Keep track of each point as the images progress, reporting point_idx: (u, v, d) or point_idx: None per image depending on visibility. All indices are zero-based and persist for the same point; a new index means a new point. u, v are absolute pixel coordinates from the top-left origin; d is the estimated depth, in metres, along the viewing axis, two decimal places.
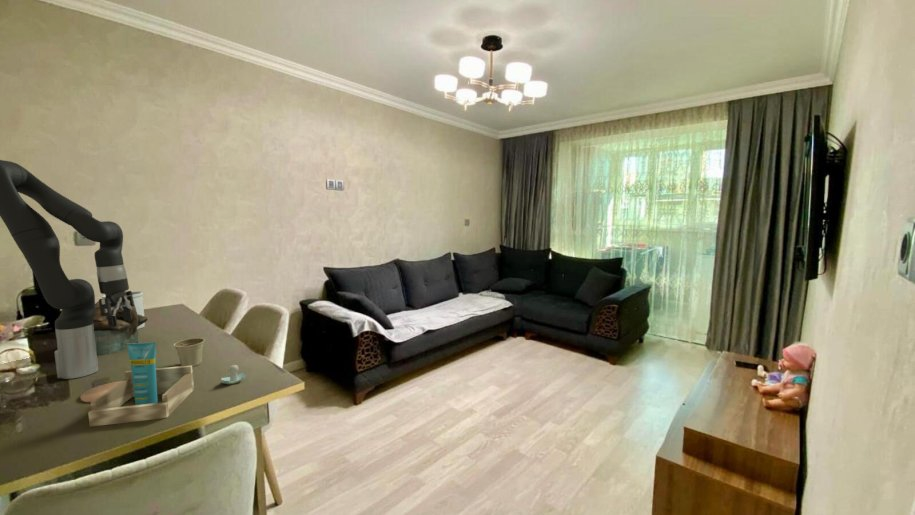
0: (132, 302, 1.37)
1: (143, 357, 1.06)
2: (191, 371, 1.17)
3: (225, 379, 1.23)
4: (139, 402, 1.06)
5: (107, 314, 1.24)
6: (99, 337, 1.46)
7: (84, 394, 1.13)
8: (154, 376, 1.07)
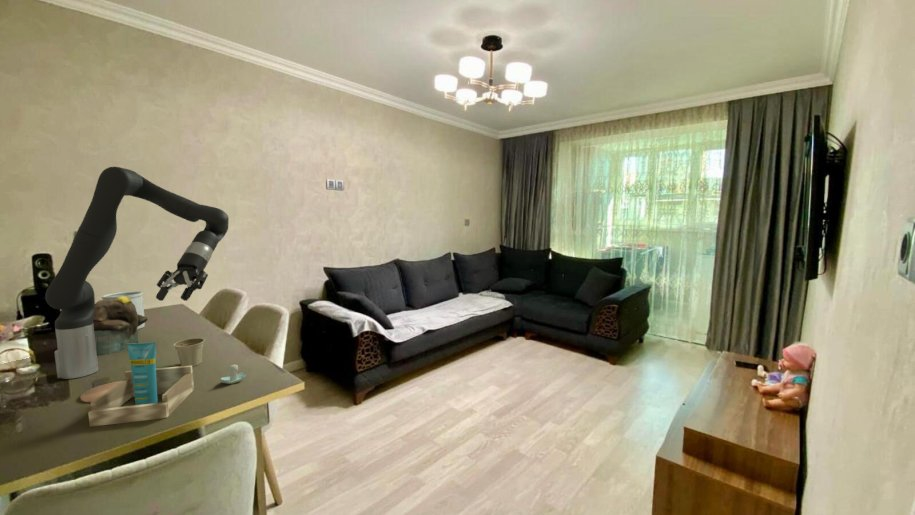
0: None
1: (143, 357, 1.06)
2: (191, 371, 1.17)
3: (225, 379, 1.23)
4: (139, 402, 1.06)
5: (200, 286, 1.19)
6: (99, 337, 1.46)
7: (84, 394, 1.13)
8: (154, 376, 1.07)
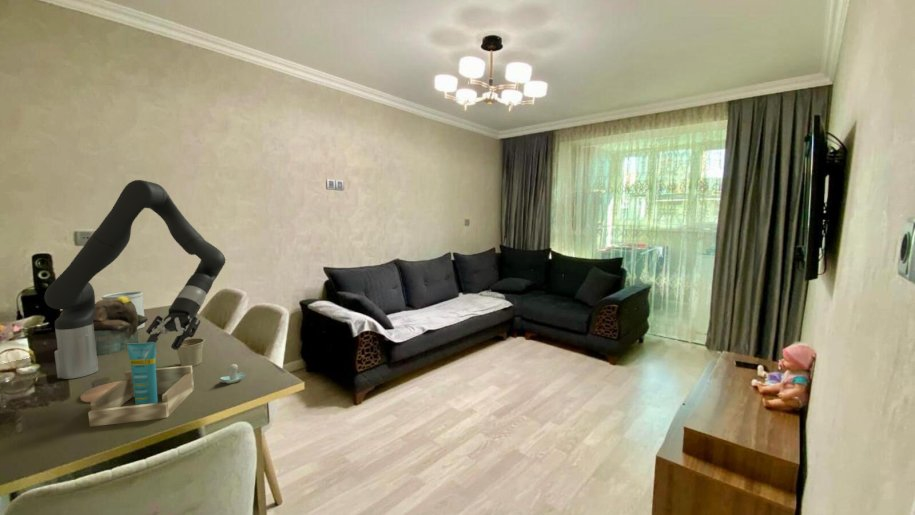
0: None
1: (143, 357, 1.06)
2: (191, 371, 1.17)
3: (224, 378, 1.24)
4: (139, 402, 1.06)
5: (192, 334, 1.15)
6: (99, 337, 1.46)
7: (84, 394, 1.13)
8: (154, 376, 1.07)
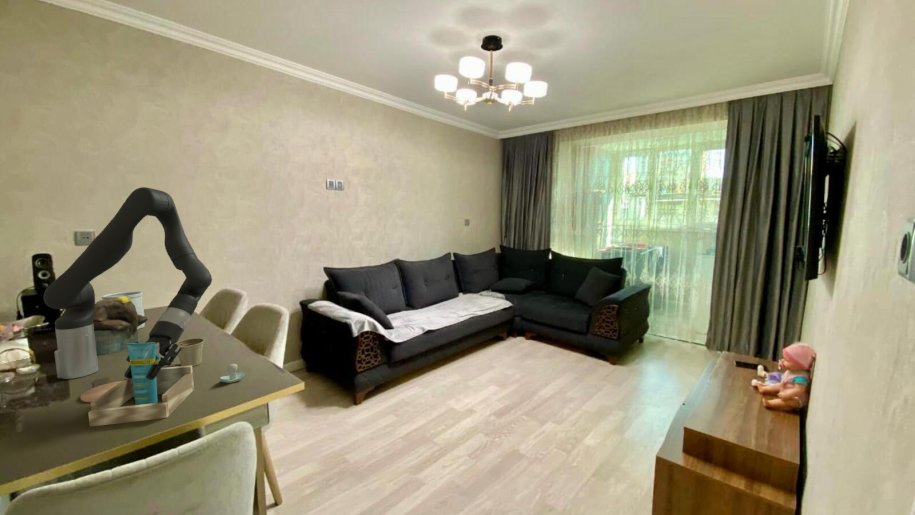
0: None
1: (143, 357, 1.06)
2: (191, 371, 1.17)
3: (224, 378, 1.24)
4: (139, 402, 1.06)
5: (169, 363, 1.08)
6: (99, 337, 1.46)
7: (84, 394, 1.13)
8: None
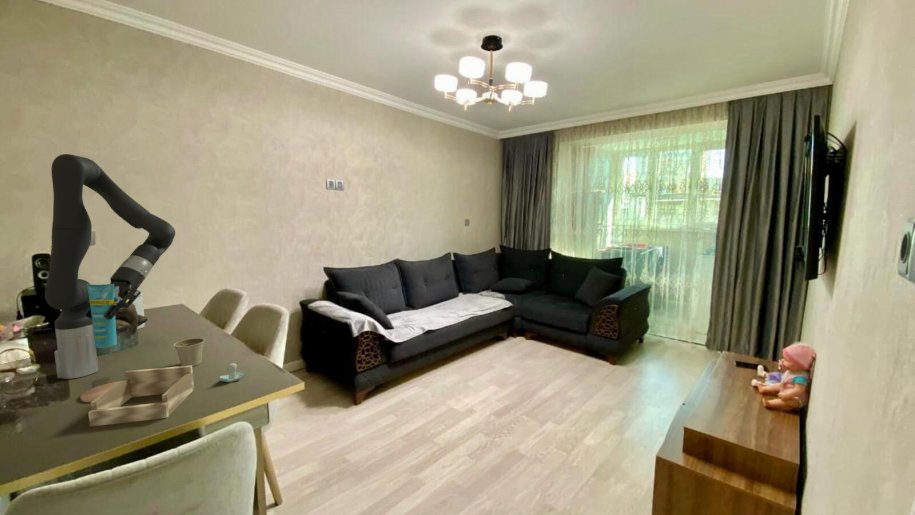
0: None
1: (102, 298, 1.12)
2: (191, 371, 1.17)
3: (224, 377, 1.24)
4: (97, 340, 1.12)
5: (127, 305, 1.14)
6: None
7: (84, 394, 1.13)
8: (113, 317, 1.13)
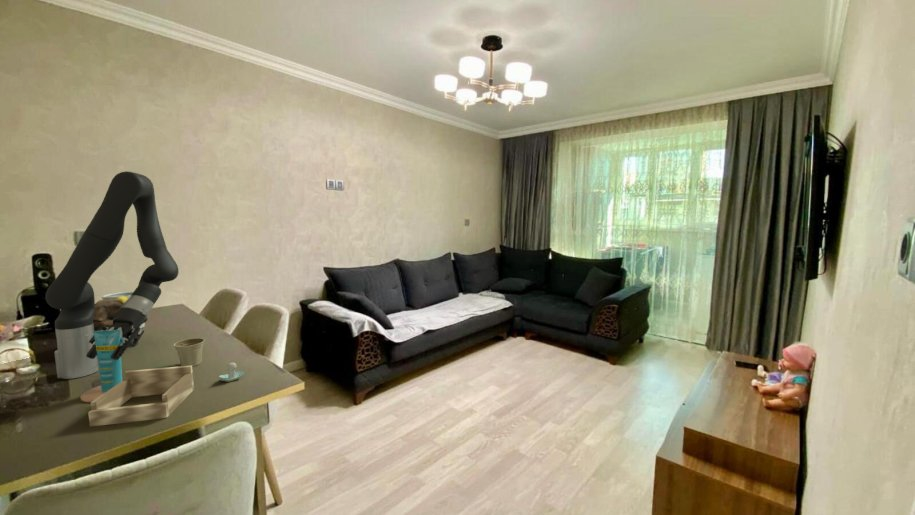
0: None
1: (108, 343, 1.14)
2: (191, 371, 1.17)
3: (223, 376, 1.25)
4: (104, 385, 1.14)
5: (133, 344, 1.17)
6: None
7: (84, 394, 1.13)
8: (119, 361, 1.16)
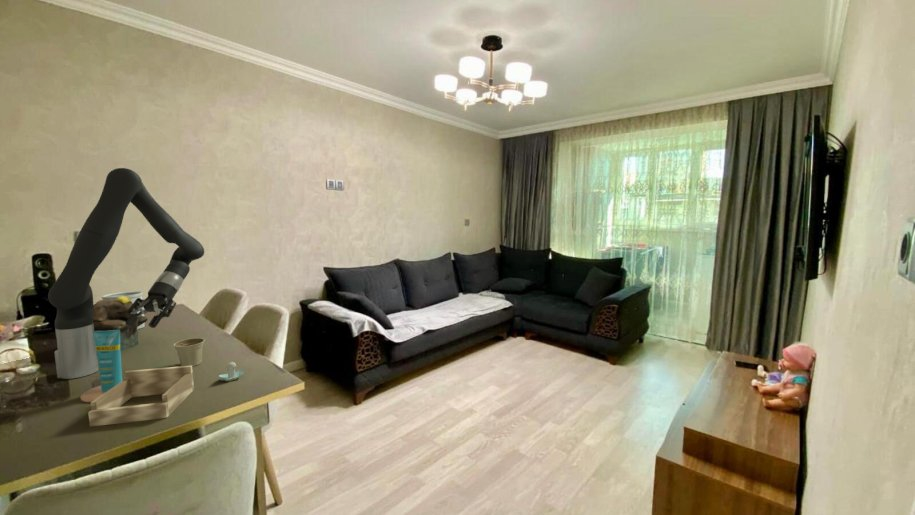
0: None
1: (108, 343, 1.14)
2: (191, 371, 1.17)
3: (223, 376, 1.25)
4: (104, 385, 1.14)
5: (168, 315, 1.29)
6: None
7: (84, 394, 1.13)
8: (119, 361, 1.16)
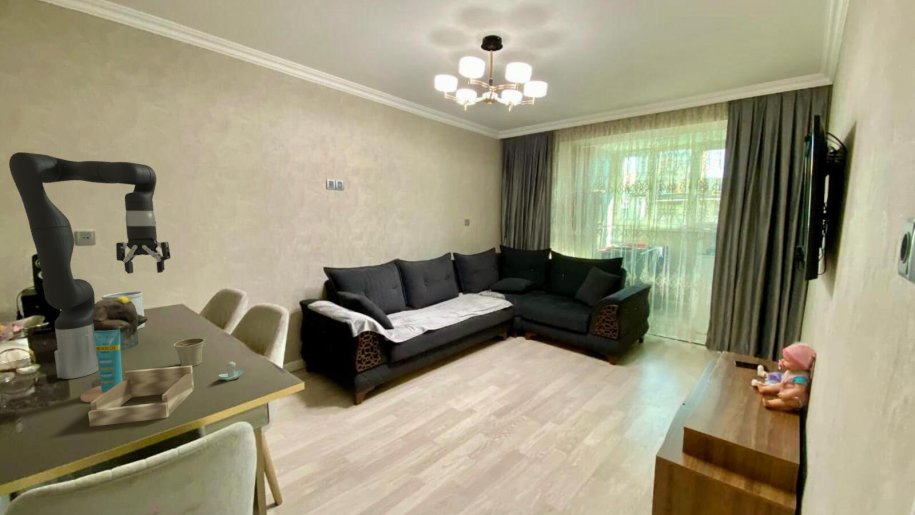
0: None
1: (108, 343, 1.14)
2: (191, 371, 1.17)
3: (223, 375, 1.26)
4: (104, 385, 1.14)
5: (169, 257, 1.27)
6: None
7: (84, 394, 1.13)
8: (119, 361, 1.16)
